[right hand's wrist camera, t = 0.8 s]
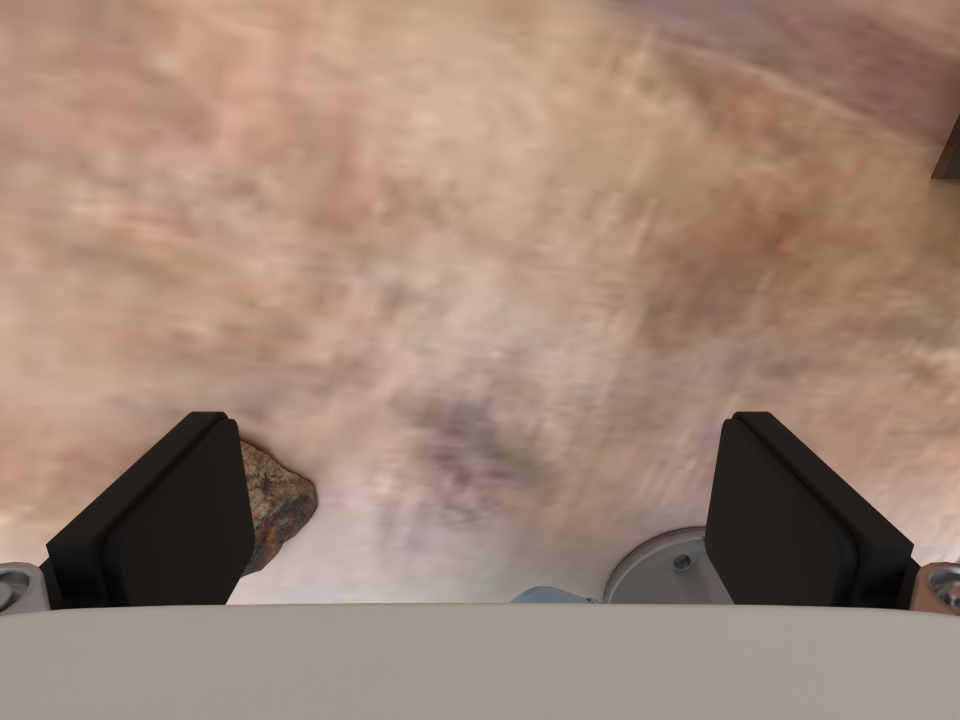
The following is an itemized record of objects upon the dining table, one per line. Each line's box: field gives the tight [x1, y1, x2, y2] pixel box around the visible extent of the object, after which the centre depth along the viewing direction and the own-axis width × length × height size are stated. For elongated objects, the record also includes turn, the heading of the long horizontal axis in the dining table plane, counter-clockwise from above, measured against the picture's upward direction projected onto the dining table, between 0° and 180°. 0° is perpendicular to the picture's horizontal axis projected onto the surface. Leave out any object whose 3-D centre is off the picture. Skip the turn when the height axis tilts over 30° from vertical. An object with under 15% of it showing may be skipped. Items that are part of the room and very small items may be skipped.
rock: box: [240, 441, 317, 578], centre depth 42 cm, size 14×9×10 cm
